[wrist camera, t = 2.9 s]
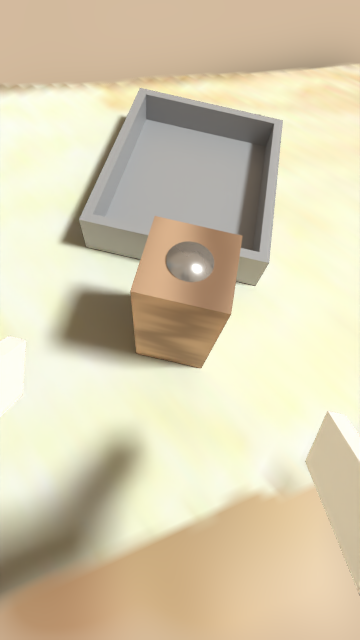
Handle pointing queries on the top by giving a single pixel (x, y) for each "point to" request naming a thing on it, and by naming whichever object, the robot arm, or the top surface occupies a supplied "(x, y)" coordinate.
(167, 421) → the top surface
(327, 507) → the robot arm
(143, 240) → the tray
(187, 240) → the bored block
